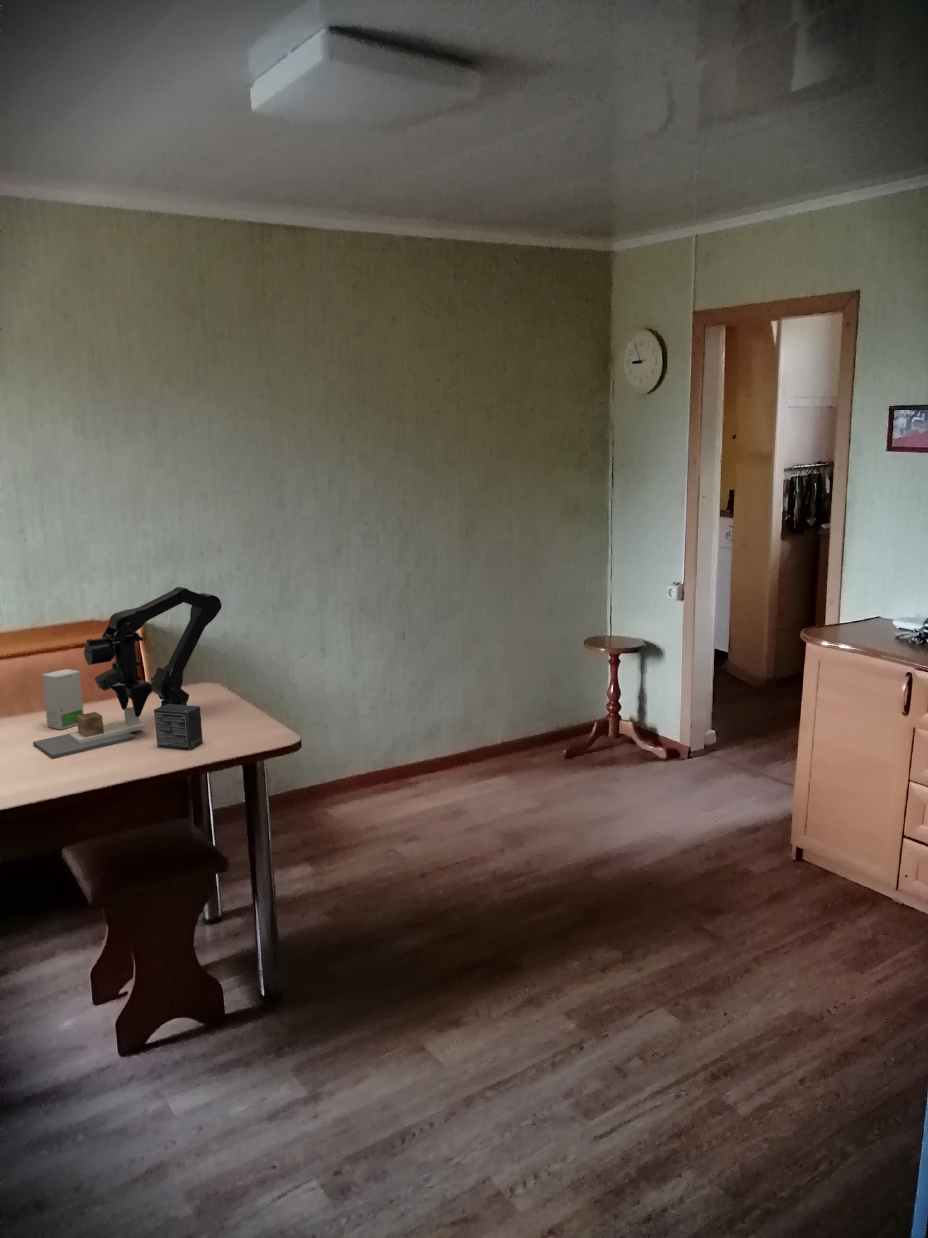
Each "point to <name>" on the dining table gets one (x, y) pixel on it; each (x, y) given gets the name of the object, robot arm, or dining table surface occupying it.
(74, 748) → the charcoal board
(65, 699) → the skincare box
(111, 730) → the off-white strip
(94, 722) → the walnut block
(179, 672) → the robot arm
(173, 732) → the small box
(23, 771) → the dining table surface
